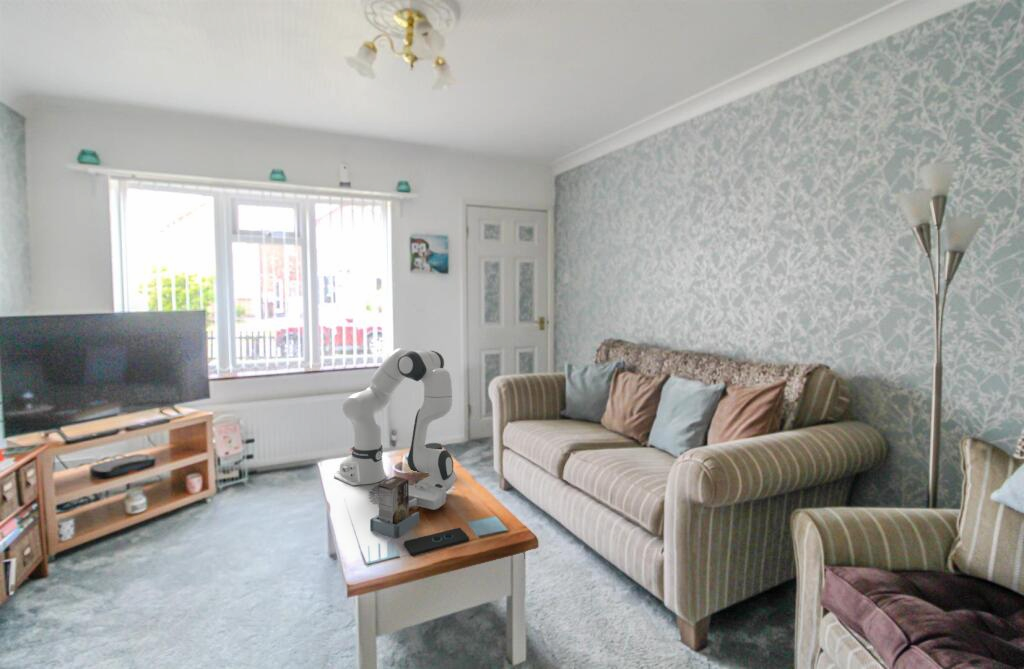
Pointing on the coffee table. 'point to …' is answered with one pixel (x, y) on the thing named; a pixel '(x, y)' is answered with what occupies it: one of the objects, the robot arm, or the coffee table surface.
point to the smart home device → (435, 541)
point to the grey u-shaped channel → (394, 529)
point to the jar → (434, 446)
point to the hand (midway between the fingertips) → (403, 505)
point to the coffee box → (394, 500)
